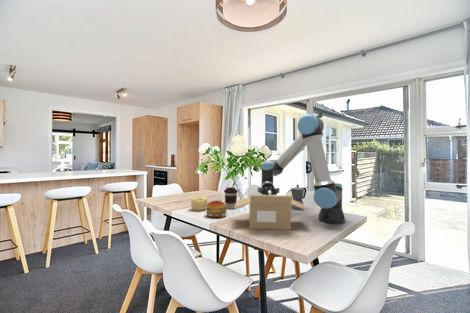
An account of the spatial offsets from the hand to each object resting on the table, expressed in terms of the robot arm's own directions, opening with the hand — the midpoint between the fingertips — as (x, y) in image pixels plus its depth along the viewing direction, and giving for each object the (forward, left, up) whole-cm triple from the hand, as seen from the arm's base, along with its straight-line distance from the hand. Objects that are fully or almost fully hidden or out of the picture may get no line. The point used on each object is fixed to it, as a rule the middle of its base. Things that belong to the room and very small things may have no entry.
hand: (269, 195), depth 122 cm
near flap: (-1, -1, -3) cm, 3 cm away
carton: (-1, -18, -19) cm, 27 cm away
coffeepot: (-25, -56, -20) cm, 64 cm away
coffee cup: (+25, -52, -20) cm, 61 cm away
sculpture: (+47, -44, -20) cm, 68 cm away
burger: (+32, -29, -20) cm, 48 cm away
